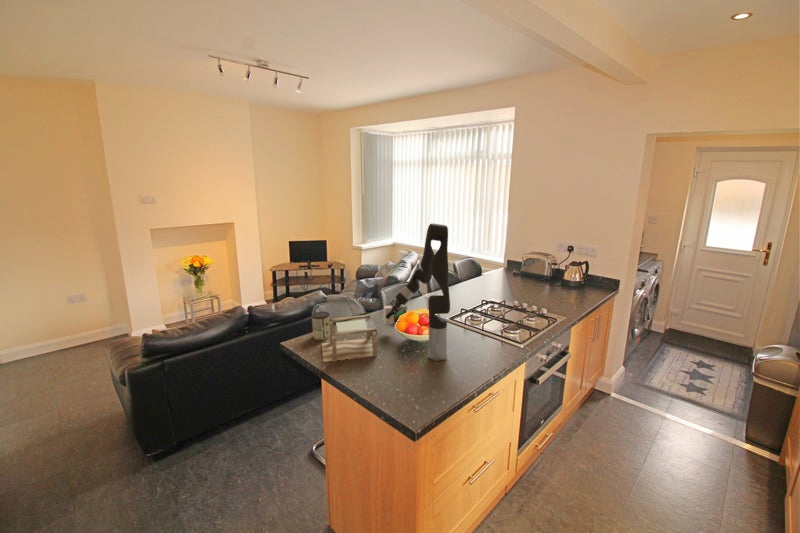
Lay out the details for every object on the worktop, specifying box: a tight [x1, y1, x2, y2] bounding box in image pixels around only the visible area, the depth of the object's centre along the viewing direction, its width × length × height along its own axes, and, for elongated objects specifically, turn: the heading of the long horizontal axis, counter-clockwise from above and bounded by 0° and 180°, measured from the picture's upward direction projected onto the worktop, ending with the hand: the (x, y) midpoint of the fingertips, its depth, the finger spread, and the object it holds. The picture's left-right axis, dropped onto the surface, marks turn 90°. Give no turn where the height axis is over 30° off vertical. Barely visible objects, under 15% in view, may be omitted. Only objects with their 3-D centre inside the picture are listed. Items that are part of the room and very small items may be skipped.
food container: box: [394, 305, 408, 322], centre depth 242 cm, size 12×6×10 cm, turn 62°
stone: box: [383, 305, 395, 325], centre depth 219 cm, size 5×5×10 cm
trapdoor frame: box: [321, 314, 378, 363], centre depth 198 cm, size 23×28×15 cm
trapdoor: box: [335, 318, 378, 337], centre depth 198 cm, size 18×20×4 cm
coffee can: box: [311, 311, 330, 341], centre depth 217 cm, size 10×10×14 cm
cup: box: [424, 292, 443, 317], centre depth 248 cm, size 12×12×15 cm
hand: (385, 316), depth 219 cm, fingers closed on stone, 5 cm apart
